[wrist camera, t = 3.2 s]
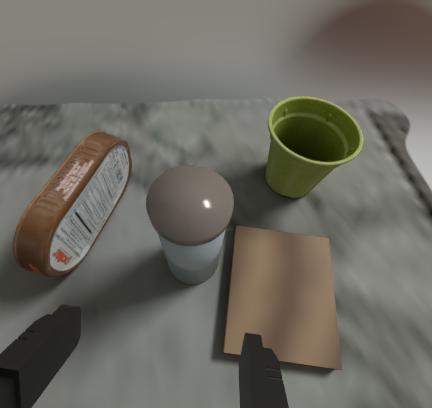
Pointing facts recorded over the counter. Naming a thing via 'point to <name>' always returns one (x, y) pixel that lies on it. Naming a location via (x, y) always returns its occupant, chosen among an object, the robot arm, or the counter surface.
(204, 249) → the blue jar
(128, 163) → the tin
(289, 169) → the plant pot
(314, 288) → the tan board
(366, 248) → the counter surface
